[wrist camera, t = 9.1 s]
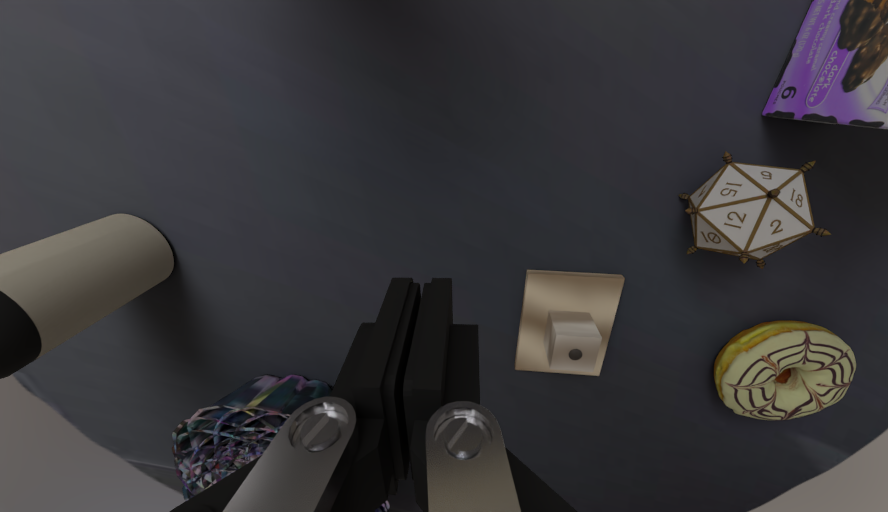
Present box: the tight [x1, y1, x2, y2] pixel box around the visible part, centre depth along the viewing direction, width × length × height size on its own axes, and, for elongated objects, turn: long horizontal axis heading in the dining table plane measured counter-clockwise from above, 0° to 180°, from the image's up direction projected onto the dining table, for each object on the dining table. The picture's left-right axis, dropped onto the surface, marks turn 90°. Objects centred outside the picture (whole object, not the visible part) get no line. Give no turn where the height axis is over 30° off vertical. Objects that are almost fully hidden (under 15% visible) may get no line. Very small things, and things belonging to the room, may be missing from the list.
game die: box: [679, 151, 831, 269], centre depth 27 cm, size 9×8×10 cm
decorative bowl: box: [172, 374, 390, 512], centre depth 45 cm, size 26×28×10 cm
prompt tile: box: [515, 270, 625, 376], centre depth 35 cm, size 12×9×5 cm
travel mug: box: [0, 214, 174, 379], centre depth 30 cm, size 8×8×18 cm
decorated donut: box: [714, 320, 856, 420], centre depth 36 cm, size 11×12×4 cm
